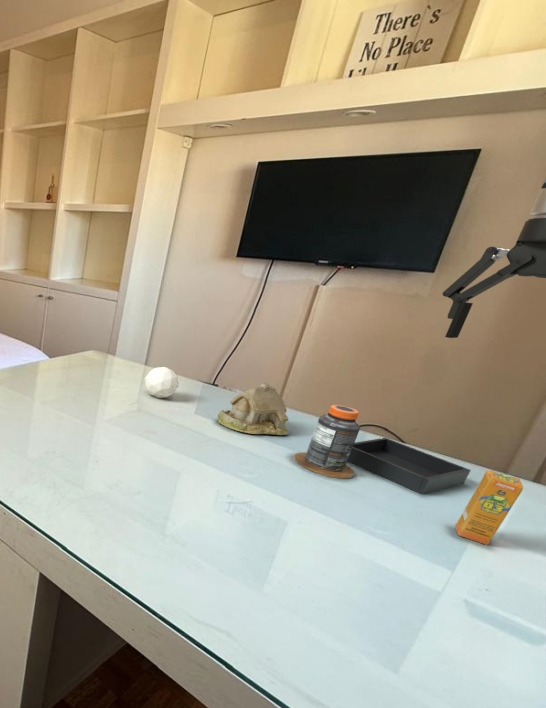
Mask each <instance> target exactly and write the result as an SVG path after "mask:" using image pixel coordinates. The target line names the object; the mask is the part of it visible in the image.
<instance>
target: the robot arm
mask: <svg viewBox="0 0 546 708" xmlns="http://www.w3.org/2000/svg"><path fill="white" fill-rule="evenodd" d="M529 215H530V216H533V217H532V218H529V219H527V220H526V221H525V222H524V225H523V227H522V229H521V230H520V234H519V235H518V237H517V239H516V243H515V245H514V246H513V247H512V248H510V249H508V248H507V249H506V248H502V247H500V246H489V247H487V248H486V249H485V251H484V252H483V254H482V256H481V258H480V259H479V260H477V262H475V263H474V264H473V265H472V266H471V267H470V268H469V269H467V271H465V272H464V273H463V274H462V275H461V276H459V278H457V279H456V280H455V281H453V283H451V285H449V286H448V287H447V288H446V289H444V291H443V292H442V296H443V297H446V298H448V299H450V300H452V304H451V307H450V309H449V311H448V313H447V319H450V320H451V323H450V324H449V327H448V329H447V331H446V333H445V336H444V338H447V339H456V338H459V336H460V334H461V332H462V329H463V326H464V325H465V322H466V320H467V318H468V315H469V313H470V311H471V309H472V307H473V302H470V300H471V299H473V298H476V297H477V296H478V295H481V294H482V293H484V292H486V291H487V290H490V289H491V288H493V287H495V286H497V285H499V284H500V283H502V282H504V281H506V280H508V279H510V278H512V277H515V276H516V275H517V276H518V277H526V278H527V277H529V278H531V277H536V278H539V279H546V178H545V179H544V180H543V184H542V185H541V187H540V189H539V191H538V194H537V196H536V198H535V200H534V203H533V205H532V207H531V210H530V212H529ZM505 257H506V258H507V261H508V262H509V264H508V265H505V266H504V267H502V268H500V269H498V271H496V272H495V273H493V274H491V275H490V276H488V277H486V278H485V279H483V280H481V281H479V282H477V283H476V284H474V285H472V286H470V287H469V285H471V284H472V283H473V282H474V281H476V279H478V278H479V277H480V276H481V275H483V274H484V273H485V272H486V271H487V270H489V269H490V267H492V266H493V265H494V264H495V263H496V262H497V261H498V262H499V261H500V260H502V259H503V258H505ZM467 287H469V288H467ZM466 288H467V289H466Z"/></svg>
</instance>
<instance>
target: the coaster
mask: <svg viewBox="0 0 546 708" xmlns="http://www.w3.org/2000/svg"><path fill="white" fill-rule="evenodd" d="M305 455H306V452H297V453H295V454H294V455H293V460H294V462H295V463H297V464H298V465H299V466H300V467H302V468H304V469H307V470H309V471H311V472H313V473H315V474H319V475H321V476H325V477H329V478H334V479H343V480H345V479H351V478H352V477H353V476H354V470H353V469H352V468H351V467H349V466H348V465H345V467H344V469H343V470H341V471H331V470H326V469H322V468H319V467H317V466H314V465H312V464H311V463H309V462H308V461H307V460H306V459H305Z"/></svg>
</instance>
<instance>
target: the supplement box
mask: <svg viewBox="0 0 546 708" xmlns="http://www.w3.org/2000/svg"><path fill="white" fill-rule="evenodd" d="M523 490H524V485H523V483H522V480H521V479H520V478H518V477H514V476H509V475H507V474H506V475H505V474H502V473H499V472H495V471H492V470H486V471H485V472H484V474H483V477H481V480H480V482H479V484H478V485H477V487H476V489H475V490H474V492H473V494H472V495H471V498H470V499H469V501H468V502H467V505H466V506H465V508H464V510H463V512H462V513H461V515H460V517H459V518H458V519H457V521H456V523H455V529H456V534H457V536H458V537H462V538H464V539H467V540H471V541H473V542H476V543H479V544H483V545H485V546H488V545H489V543H490V542H491V540H492V539H493V537H494V536H495V535H496V533H497V531H498V530H499V528H500V526H501V525H502V523H503V522H504V520H505V519H506V517H507V515H508V514H509V513H510V510H511V509H512V508H513V506H514V504H515V503H516V501H517V500H518V498H519V496H520V495H521V493H522V492H523Z"/></svg>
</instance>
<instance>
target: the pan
mask: <svg viewBox="0 0 546 708" xmlns="http://www.w3.org/2000/svg"><path fill="white" fill-rule="evenodd" d="M381 438H382V439H381ZM347 462H349V463H351V464H353V465H355V466H357V467H360V468H361V469H364V470H366V471H369V472H370V473H373V474H375V475H378V476H380V477H382V478H384V479H386V480H389V481H391V482H393V483H395V484H397V485H400V486H402V487H405V488H407V489H409V490H412V491H414V492H416V493H418V494H420V495H424V494H428V493H432V492H435V491H440V490H444V489H448V488H453V487H456V486H460V485H464V484H465V482H466V481H467V479H468V477H469V476H470V475H469V474H470V473H471V469H469V468H466V467H464V466H463V465H459V464H456V463H453V462H451V461H448V460H446V459H443V458H440V457H437V456H435V455H433V454H430V453H427V452H424V451H423V450H422V451H421V450H419V449H416V448H414V447H411V446H408V445H406V444H403V443H401V442H399V441H395V440H392V439H390V438H388V437H380V438H375V439H367V440H362V441H355V443H354V445H353V447H352V450H351V452H350V455H349V457H348V460H347Z"/></svg>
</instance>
